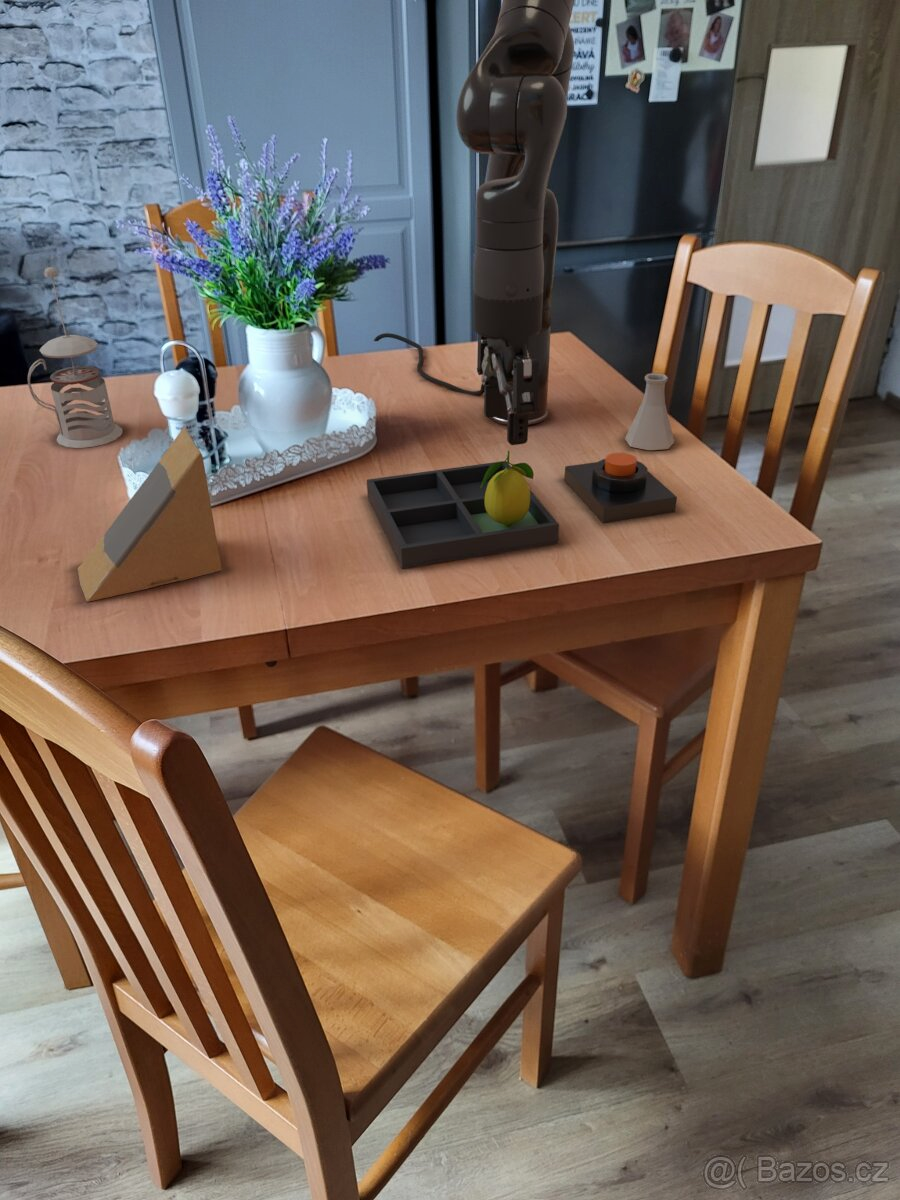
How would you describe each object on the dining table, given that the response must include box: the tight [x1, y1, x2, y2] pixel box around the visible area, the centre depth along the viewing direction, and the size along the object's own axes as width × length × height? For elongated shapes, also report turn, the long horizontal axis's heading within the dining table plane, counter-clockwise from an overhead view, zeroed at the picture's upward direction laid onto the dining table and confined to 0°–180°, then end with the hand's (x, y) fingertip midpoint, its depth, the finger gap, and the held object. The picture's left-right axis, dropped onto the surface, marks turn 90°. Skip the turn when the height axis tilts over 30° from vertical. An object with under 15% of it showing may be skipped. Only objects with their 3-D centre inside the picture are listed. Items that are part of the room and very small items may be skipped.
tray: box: [366, 460, 560, 570], centre depth 118 cm, size 19×19×3 cm
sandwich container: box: [77, 426, 223, 603], centre depth 105 cm, size 9×15×15 cm, turn 115°
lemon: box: [480, 450, 534, 527], centre depth 113 cm, size 7×6×10 cm
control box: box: [563, 458, 678, 524], centre depth 122 cm, size 13×10×4 cm
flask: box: [624, 372, 675, 451], centre depth 136 cm, size 7×7×10 cm
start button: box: [604, 452, 638, 476], centre depth 121 cm, size 4×4×2 cm
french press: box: [27, 266, 124, 449], centre depth 137 cm, size 10×12×25 cm
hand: (505, 429), depth 109 cm, fingers open, 8 cm apart
